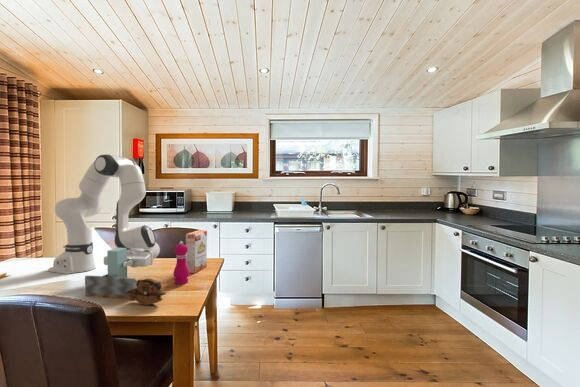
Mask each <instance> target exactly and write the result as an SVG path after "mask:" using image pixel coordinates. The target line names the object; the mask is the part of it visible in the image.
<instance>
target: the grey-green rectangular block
mask: <svg viewBox="0 0 580 387" xmlns="http://www.w3.org/2000/svg"><path fill="white" fill-rule="evenodd" d="M127 251H128V250H127V248H117V247H116V248H111V249H108V250H107V252H106V253H107V254H106V256H107V260H108V265H107V274H108V277H124V278H128V266H126V267H121V263H123V262H127Z"/></svg>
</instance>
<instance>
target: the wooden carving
mask: <svg viewBox="0 0 580 387" xmlns="http://www.w3.org/2000/svg"><path fill="white" fill-rule="evenodd" d="M136 281H137V284H136V286H137V288H133V289H131V290H129V291H127V293H128V296H129V298H130V299H129V301H130V302H135V301H136V302H137V303H138V304H140V305H142V306H144V305H145V306H149V305H153V304H157V303H160V302H161V301H163V300H164V299H163V298H162V296H165V295H167V293H166V292H165V291H162V283H161V281H158V280H157V279H154V278H151V277H150V278H149V277H148V278H145V279H142V278H140V279H138V280H136Z"/></svg>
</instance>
